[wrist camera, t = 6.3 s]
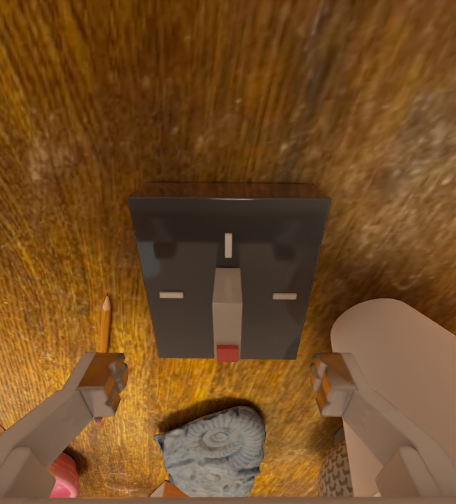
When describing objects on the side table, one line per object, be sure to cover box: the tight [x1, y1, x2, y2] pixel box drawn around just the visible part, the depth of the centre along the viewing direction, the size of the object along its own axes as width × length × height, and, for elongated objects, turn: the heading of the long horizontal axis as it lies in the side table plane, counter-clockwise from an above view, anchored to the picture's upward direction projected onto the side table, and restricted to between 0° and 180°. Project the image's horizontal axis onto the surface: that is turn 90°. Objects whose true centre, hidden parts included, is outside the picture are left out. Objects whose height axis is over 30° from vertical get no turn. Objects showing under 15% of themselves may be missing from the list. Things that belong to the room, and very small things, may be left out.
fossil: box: [154, 406, 266, 497], centre depth 28 cm, size 13×18×4 cm
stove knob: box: [212, 268, 243, 362], centre depth 13 cm, size 4×1×3 cm, turn 0°
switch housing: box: [127, 182, 331, 360], centre depth 16 cm, size 12×10×3 cm
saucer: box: [48, 452, 79, 498], centre depth 31 cm, size 12×12×3 cm
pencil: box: [94, 293, 111, 424], centre depth 22 cm, size 19×1×1 cm, turn 163°
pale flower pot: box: [330, 298, 456, 497], centre depth 14 cm, size 12×12×14 cm
